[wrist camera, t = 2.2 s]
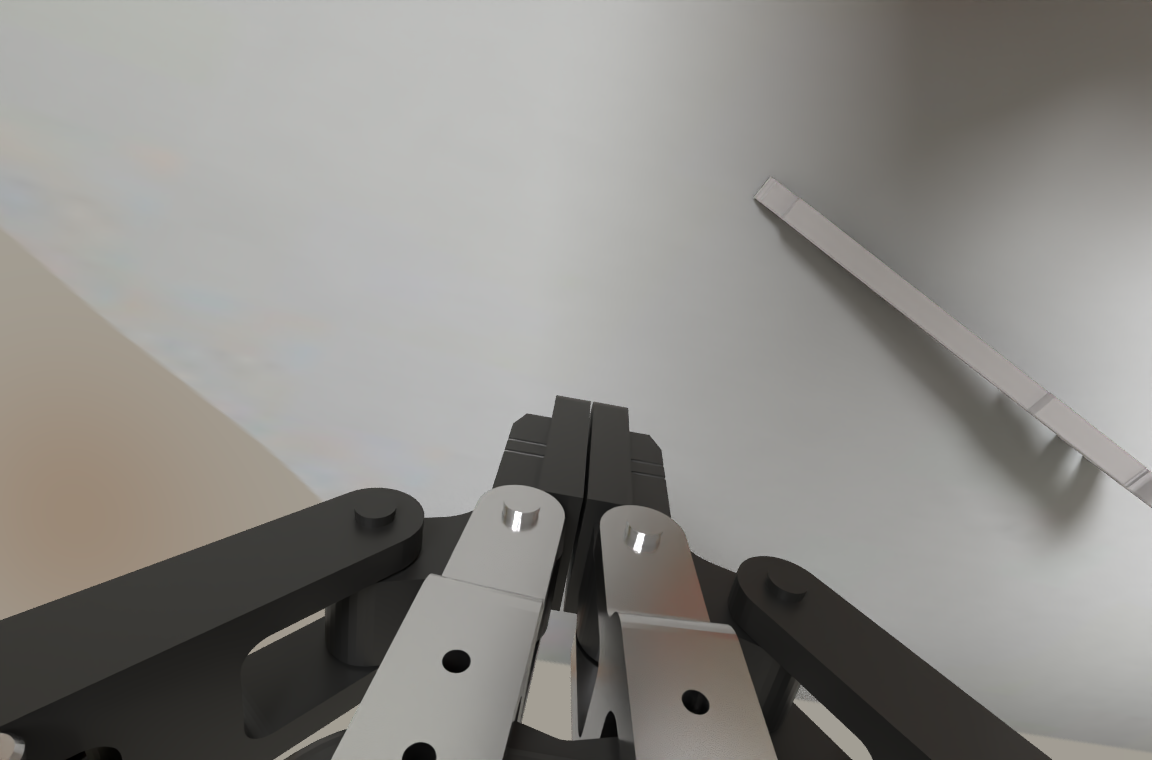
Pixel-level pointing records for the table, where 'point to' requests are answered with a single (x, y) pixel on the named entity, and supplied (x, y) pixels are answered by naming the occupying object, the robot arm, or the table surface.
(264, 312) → the table surface
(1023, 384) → the caliper
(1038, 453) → the table surface
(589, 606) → the robot arm
